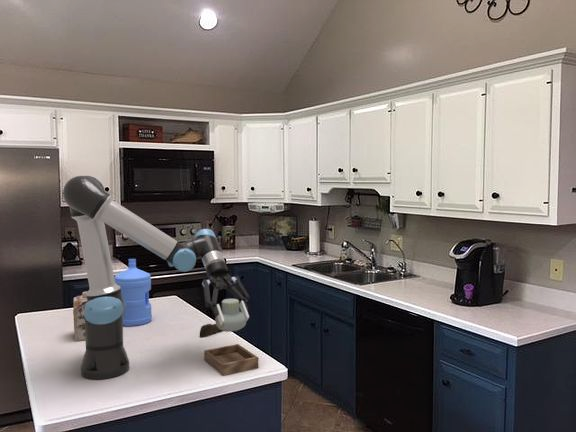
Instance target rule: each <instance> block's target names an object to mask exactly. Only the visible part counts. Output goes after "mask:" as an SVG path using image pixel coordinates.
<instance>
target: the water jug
mask: <svg viewBox="0 0 576 432" xmlns="http://www.w3.org/2000/svg"><path fill="white" fill-rule="evenodd" d="M127 260H128V268H126V269H125V270H123V271H121V272H119V273H118V274H115V275H114V279H115V283H116V284H117V285H119V286H120V287H121V293H122V298H123V300H124V302H125V307H126V308H125V314H124V317H123V327H136V326H137V327H138V326H141V325H142V326H143V325H145V324H148V323H150V322H152V320H153V315H152V303H151V302H150V299H149V298H150V293H149V291H150V290H152V279H151V278H152V277H151V274H150V273H149V272H147V271H144V270H141V269H139V268H138V267H137V259H136V258H128V259H127Z"/></svg>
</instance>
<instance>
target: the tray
mask: <svg viewBox="0 0 576 432" xmlns="http://www.w3.org/2000/svg"><path fill="white" fill-rule="evenodd" d="M203 352H204V353H203V356H204V357H203V358H204V359H203V360H204V361H205V362H206V363H207V364H208V365H209V366H210V367H212V368H213V369H214V370H215V371H217V372H218V373H219V374H220V375H221V376H223V377H224V376H228V375H230V374H231V375H233V374H236V373H241V372H245V371H249V370H254V369H255V370H256V369H259V357H258V356H257V355H256V354H254V353H252V352H251V351H250V350H248V349H246V348H245V347H243V346H242V345H241V344H239V343H235V344H231V345H225V346H220V347H215V348H210V349H204V351H203Z"/></svg>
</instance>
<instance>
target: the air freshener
mask: <svg viewBox="0 0 576 432" xmlns="http://www.w3.org/2000/svg"><path fill="white" fill-rule="evenodd" d="M239 304H240V302H239V300H237V299H236V298H224V299H223V300H222V301H221V312H222V315H223V318H224V323H223V325H220V323H219V320H218V317H217V316H215V318H214V319H215V320H214V321H215V322H214V323H215V324H216V325H217V327H218V328H219V329H220V330H221V331H222V332H225V333H226V332H230V333H231V332H236V331H239V330H241V329H243V328H245V326H246V325H247V321H246V317H245V315H244V314H243V313H242V312H241V311H240V307H239Z"/></svg>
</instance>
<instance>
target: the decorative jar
mask: <svg viewBox="0 0 576 432" xmlns="http://www.w3.org/2000/svg"><path fill="white" fill-rule="evenodd" d="M88 291H89V290H87V291H83V292H82V294H81V295H77V296H75V297H73V300H72V305H73V307H72V308H73V309H72V314H73V332H74V333H73V334H74V339H75V342H80V341H86V340H85V317H84V310H85V305H86V303H87V297H86V293H87V292H88Z"/></svg>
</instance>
